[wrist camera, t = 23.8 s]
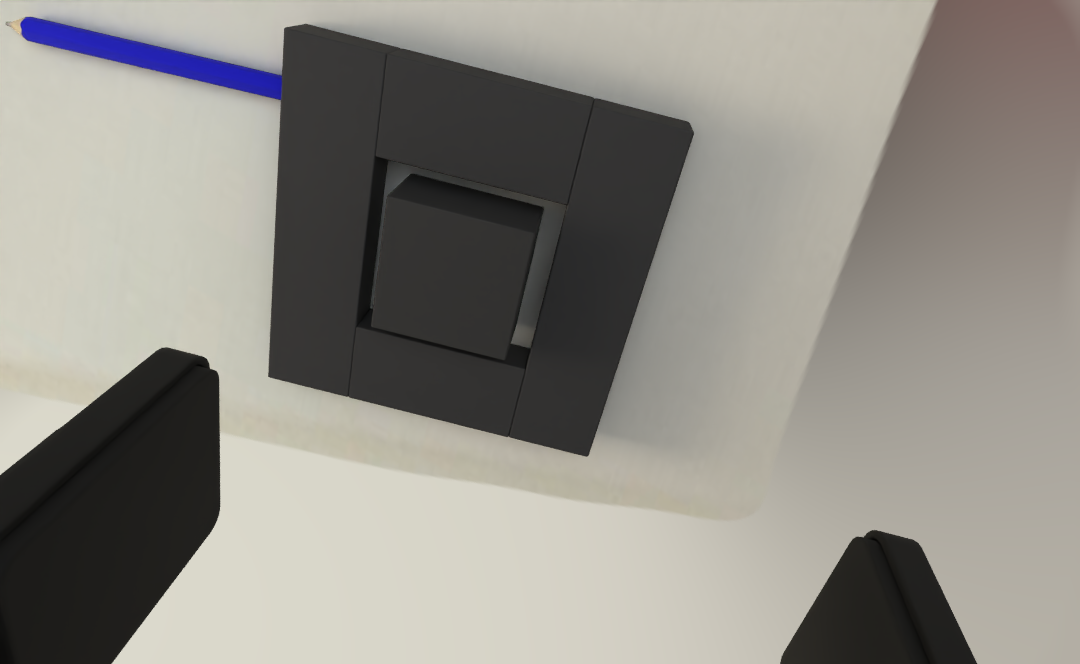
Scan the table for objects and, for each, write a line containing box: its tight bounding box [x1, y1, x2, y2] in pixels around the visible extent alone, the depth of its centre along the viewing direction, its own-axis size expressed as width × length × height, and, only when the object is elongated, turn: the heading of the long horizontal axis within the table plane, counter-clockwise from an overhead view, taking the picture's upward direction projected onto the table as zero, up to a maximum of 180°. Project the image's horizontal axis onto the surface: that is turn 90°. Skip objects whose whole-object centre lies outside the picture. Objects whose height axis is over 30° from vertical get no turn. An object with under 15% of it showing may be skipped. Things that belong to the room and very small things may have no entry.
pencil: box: [5, 17, 282, 100], centre depth 29 cm, size 17×1×1 cm, turn 78°
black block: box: [371, 174, 544, 360], centre depth 30 cm, size 6×6×4 cm
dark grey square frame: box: [268, 24, 694, 457], centre depth 31 cm, size 16×16×2 cm
